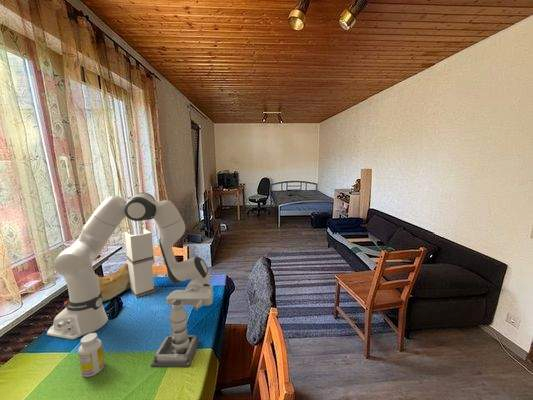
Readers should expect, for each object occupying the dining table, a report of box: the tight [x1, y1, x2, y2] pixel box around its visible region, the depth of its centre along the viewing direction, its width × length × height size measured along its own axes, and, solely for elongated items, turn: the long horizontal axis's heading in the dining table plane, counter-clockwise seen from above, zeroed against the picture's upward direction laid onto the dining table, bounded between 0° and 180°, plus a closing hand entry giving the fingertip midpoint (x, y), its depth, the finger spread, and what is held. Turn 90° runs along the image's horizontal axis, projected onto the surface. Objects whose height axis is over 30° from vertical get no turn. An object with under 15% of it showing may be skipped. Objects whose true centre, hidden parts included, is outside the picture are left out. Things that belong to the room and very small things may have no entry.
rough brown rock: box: [98, 263, 130, 303], centre depth 136 cm, size 23×17×15 cm
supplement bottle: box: [77, 332, 105, 378], centre depth 84 cm, size 7×7×13 cm
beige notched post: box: [124, 228, 157, 299], centre depth 136 cm, size 11×11×35 cm
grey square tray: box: [150, 334, 201, 368], centre depth 92 cm, size 14×13×3 cm
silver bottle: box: [168, 300, 190, 354], centre depth 91 cm, size 6×7×20 cm
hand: (184, 308), depth 100 cm, fingers open, 8 cm apart
